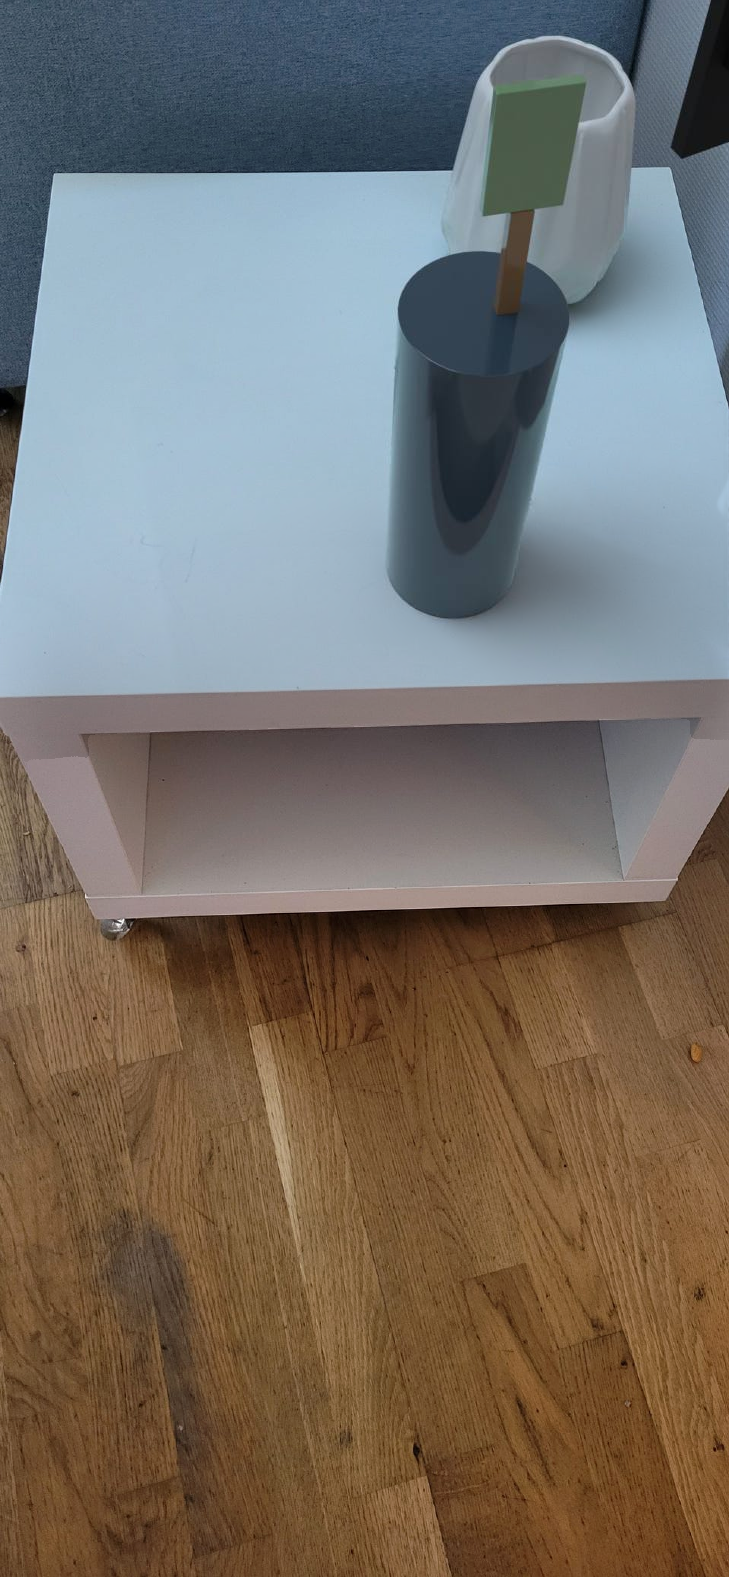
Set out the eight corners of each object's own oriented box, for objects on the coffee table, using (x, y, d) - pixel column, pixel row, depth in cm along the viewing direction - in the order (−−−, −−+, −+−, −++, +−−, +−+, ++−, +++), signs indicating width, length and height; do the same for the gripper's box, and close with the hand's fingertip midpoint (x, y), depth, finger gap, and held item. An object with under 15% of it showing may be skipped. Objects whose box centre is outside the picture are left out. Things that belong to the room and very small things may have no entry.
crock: (402, 628, 77) (435, 171, 47) (373, 523, 81) (387, 35, 50) (530, 605, 78) (646, 143, 47) (496, 502, 82) (583, 10, 51)
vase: (641, 242, 93) (691, 55, 80) (570, 354, 88) (611, 176, 74) (486, 184, 96) (509, -6, 82) (408, 290, 91) (418, 106, 77)
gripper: (1314, -722, 23) (876, 205, 42) (641, -1005, 32) (532, -138, 52) (1028, -666, 22) (708, 269, 41) (407, -979, 31) (384, -96, 50)
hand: (609, 43), depth 46 cm, fingers open, 13 cm apart
